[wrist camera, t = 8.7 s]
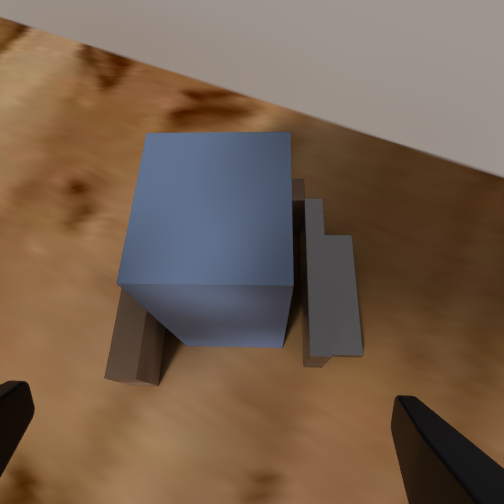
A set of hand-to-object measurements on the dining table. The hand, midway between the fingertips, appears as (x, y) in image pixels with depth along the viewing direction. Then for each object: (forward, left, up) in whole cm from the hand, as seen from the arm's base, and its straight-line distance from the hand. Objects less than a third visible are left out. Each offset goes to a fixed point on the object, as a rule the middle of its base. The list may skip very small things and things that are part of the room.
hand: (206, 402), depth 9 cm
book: (+2, +5, -8) cm, 9 cm away
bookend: (+5, +4, -8) cm, 10 cm away
